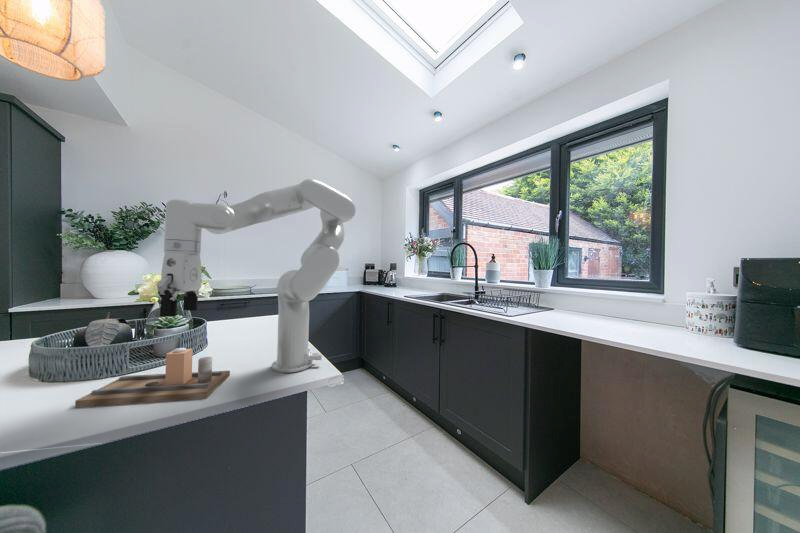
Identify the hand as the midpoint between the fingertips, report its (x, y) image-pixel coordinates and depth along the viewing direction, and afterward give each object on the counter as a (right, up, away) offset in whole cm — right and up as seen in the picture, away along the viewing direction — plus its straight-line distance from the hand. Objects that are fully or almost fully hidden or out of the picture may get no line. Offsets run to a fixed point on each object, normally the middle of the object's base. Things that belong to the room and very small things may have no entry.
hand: (180, 313), depth 70 cm
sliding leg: (0, -18, 0) cm, 18 cm away
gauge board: (-4, -20, -1) cm, 20 cm away
